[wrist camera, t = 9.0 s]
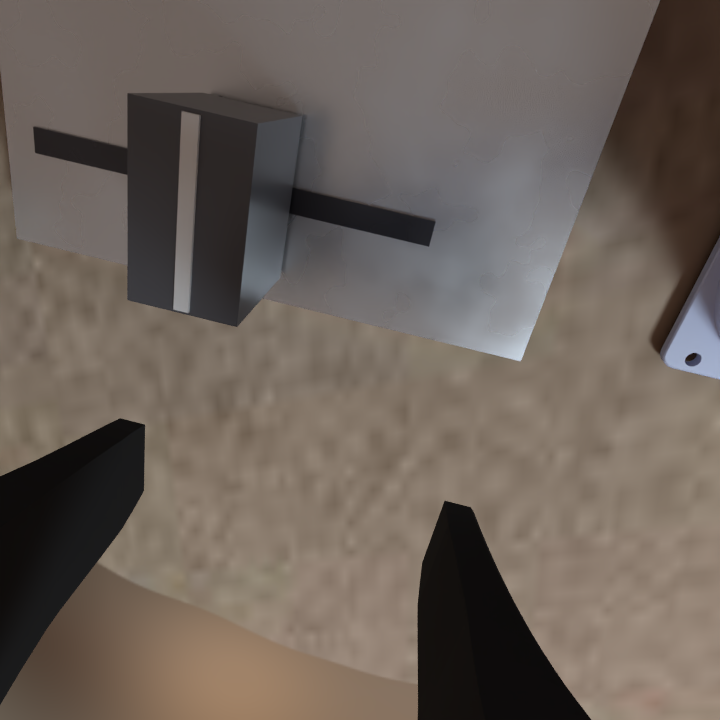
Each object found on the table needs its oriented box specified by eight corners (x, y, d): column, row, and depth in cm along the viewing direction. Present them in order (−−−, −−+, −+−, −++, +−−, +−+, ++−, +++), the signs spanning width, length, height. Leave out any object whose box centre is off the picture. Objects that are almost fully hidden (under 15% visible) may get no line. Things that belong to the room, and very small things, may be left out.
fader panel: (759, -325, 12) (815, -399, 10) (513, 337, 20) (520, 362, 18) (7, -474, 13) (-66, -568, 11) (53, 225, 21) (14, 239, 19)
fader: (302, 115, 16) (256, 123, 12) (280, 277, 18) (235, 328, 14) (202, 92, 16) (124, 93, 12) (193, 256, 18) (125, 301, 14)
